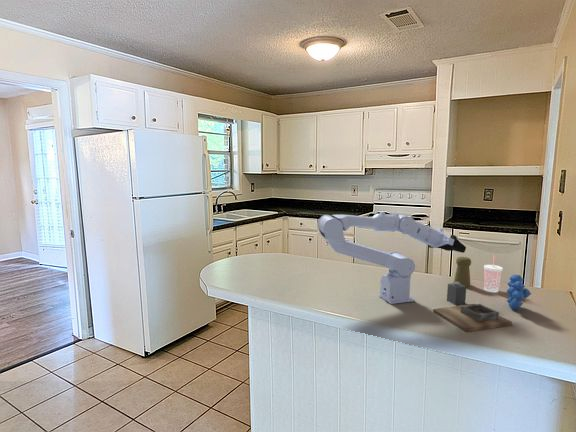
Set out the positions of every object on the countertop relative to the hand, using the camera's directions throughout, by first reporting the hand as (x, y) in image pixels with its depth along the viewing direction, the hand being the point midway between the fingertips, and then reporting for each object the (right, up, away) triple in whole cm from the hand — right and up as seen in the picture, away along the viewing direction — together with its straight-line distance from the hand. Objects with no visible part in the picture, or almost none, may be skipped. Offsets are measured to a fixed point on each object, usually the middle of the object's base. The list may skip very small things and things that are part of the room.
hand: (457, 248), depth 124 cm
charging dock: (-4, -20, -16) cm, 26 cm away
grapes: (+14, -19, -10) cm, 26 cm away
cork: (+8, -15, +14) cm, 22 cm away
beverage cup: (+16, -16, +8) cm, 25 cm away
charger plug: (-2, -18, -4) cm, 18 cm away
